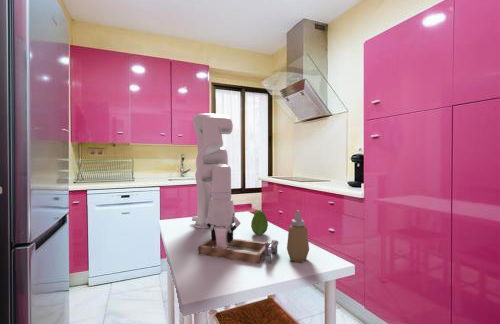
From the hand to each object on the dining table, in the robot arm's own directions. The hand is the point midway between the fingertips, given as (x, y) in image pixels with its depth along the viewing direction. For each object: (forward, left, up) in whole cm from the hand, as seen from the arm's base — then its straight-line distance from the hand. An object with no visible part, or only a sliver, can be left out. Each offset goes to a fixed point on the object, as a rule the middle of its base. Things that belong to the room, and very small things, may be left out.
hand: (222, 240), depth 101 cm
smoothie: (0, 0, -4) cm, 4 cm away
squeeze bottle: (+30, +2, -4) cm, 30 cm away
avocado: (+8, +24, -4) cm, 26 cm away
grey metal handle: (+20, 0, -4) cm, 21 cm away
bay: (+5, 0, -4) cm, 7 cm away
